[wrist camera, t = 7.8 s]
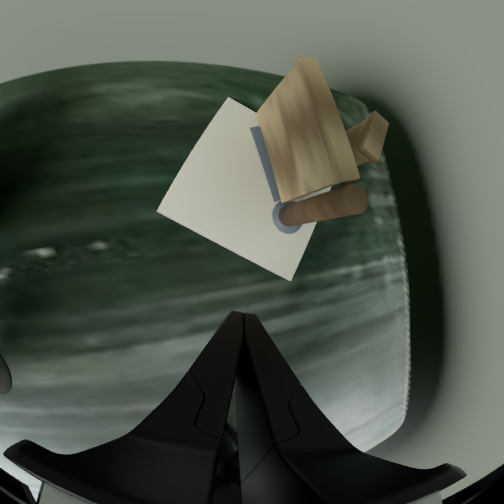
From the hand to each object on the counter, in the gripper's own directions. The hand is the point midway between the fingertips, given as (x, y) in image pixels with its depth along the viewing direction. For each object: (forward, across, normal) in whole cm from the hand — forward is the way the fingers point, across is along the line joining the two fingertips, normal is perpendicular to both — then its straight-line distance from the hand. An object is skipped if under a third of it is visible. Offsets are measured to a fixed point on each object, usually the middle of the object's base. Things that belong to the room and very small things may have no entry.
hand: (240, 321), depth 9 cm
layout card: (+16, -1, -1) cm, 16 cm away
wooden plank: (+17, -5, -1) cm, 18 cm away
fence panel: (+17, -2, -4) cm, 17 cm away
